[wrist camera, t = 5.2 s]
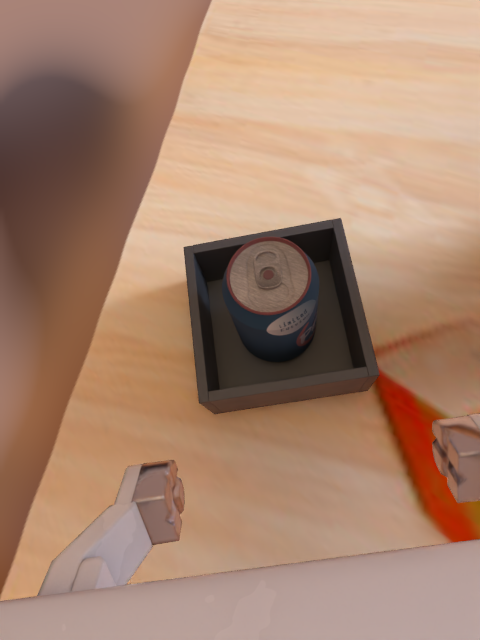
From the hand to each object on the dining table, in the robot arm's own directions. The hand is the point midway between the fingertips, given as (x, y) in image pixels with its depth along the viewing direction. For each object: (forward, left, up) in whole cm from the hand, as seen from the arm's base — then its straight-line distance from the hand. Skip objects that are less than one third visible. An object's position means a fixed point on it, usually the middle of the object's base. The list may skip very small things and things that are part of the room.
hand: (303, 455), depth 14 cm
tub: (-3, -12, -24) cm, 27 cm away
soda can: (-3, -12, -24) cm, 27 cm away
